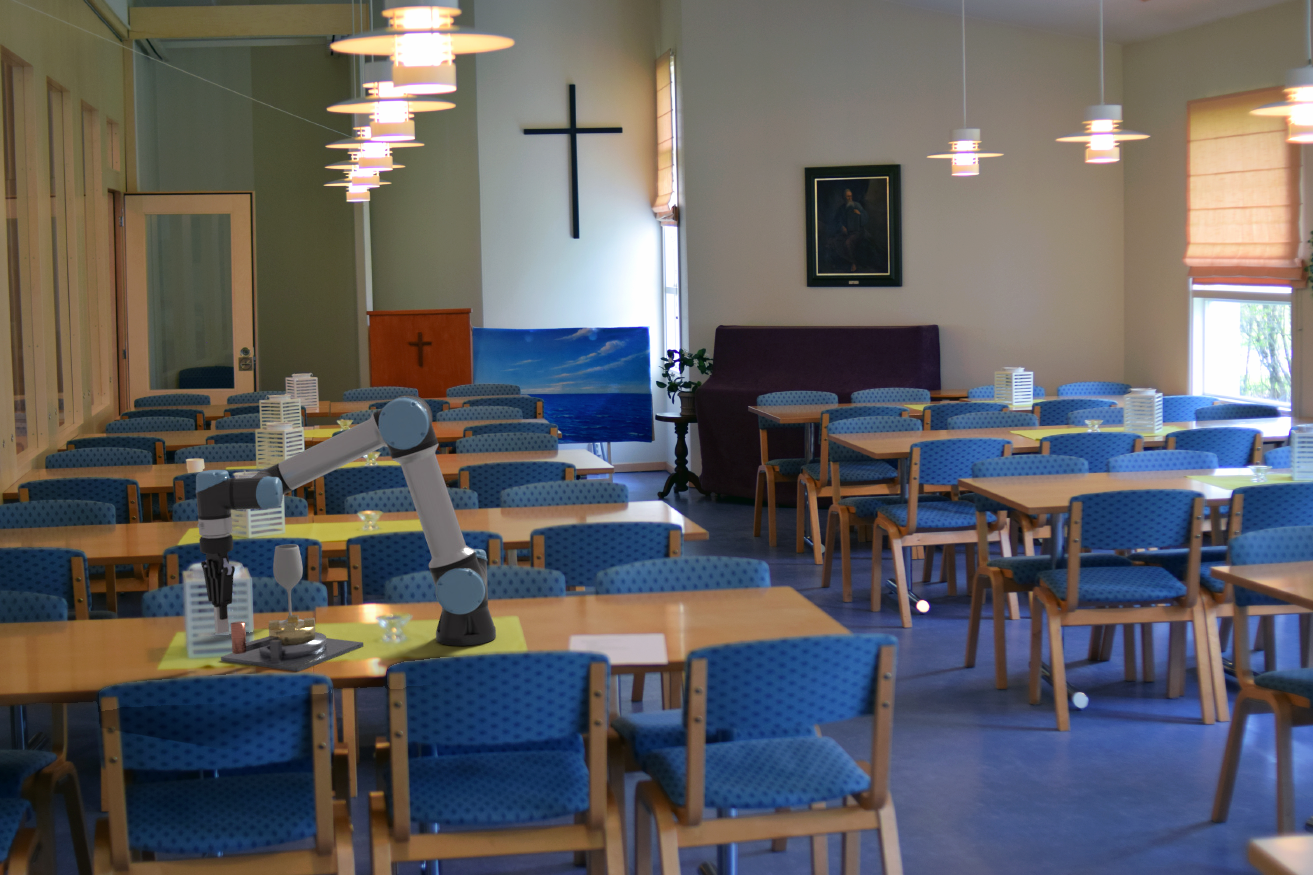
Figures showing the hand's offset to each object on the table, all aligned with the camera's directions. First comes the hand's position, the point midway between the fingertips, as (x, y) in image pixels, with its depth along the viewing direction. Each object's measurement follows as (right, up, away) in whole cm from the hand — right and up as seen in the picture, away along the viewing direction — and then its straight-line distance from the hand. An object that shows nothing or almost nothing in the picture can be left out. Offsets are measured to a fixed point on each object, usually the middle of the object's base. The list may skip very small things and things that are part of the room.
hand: (222, 631), depth 314 cm
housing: (+15, -7, +8) cm, 18 cm away
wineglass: (+5, -4, +39) cm, 40 cm away
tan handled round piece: (+11, -3, +3) cm, 12 cm away
